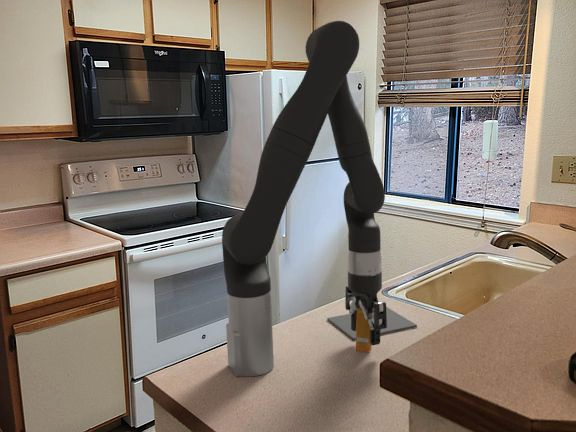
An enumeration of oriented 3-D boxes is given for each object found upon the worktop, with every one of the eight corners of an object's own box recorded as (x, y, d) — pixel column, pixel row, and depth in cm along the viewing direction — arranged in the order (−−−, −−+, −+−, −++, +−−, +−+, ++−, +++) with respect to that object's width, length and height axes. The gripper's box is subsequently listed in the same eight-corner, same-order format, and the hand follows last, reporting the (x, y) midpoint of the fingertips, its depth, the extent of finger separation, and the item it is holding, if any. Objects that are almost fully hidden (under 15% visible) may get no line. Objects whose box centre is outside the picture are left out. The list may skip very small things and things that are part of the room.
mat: (353, 340, 126) (353, 338, 125) (327, 320, 138) (327, 317, 138) (416, 327, 132) (416, 324, 132) (386, 308, 145) (386, 306, 145)
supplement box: (370, 353, 119) (370, 311, 117) (355, 351, 120) (355, 309, 118) (373, 346, 122) (373, 305, 120) (358, 345, 123) (358, 304, 121)
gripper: (334, 263, 122) (336, 328, 126) (366, 280, 109) (367, 353, 113) (363, 258, 125) (363, 323, 128) (397, 274, 112) (396, 346, 115)
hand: (365, 337), depth 121 cm, fingers open, 8 cm apart
